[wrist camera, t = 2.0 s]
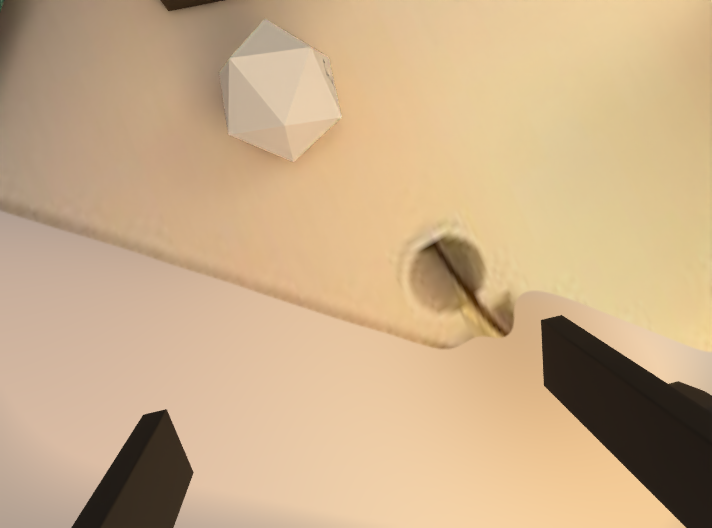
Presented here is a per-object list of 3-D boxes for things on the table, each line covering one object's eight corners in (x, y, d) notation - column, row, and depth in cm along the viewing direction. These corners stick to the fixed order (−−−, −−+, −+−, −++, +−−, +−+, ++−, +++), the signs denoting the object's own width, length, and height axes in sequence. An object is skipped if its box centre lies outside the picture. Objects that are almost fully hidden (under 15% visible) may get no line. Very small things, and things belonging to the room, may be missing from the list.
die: (311, 180, 34) (377, 117, 26) (209, 171, 29) (253, 89, 21) (295, 98, 35) (353, 15, 28) (196, 75, 30) (232, -36, 22)
